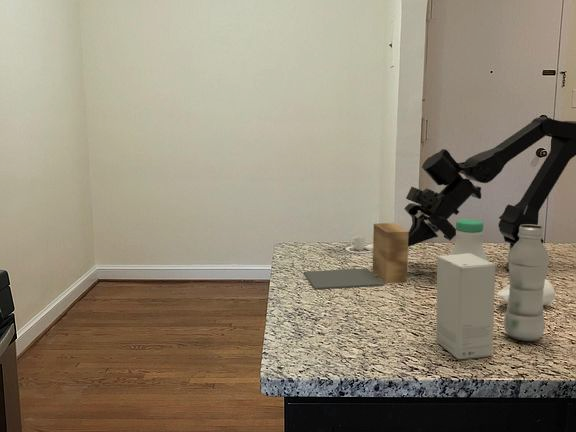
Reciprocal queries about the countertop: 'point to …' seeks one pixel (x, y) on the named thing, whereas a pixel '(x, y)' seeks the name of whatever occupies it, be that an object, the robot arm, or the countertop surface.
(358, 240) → the teacup and saucer
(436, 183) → the robot arm
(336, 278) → the mat
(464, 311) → the skincare box
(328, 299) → the countertop surface
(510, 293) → the plastic bottle
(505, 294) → the roll
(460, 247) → the milk bottle
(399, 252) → the tan and teal block
